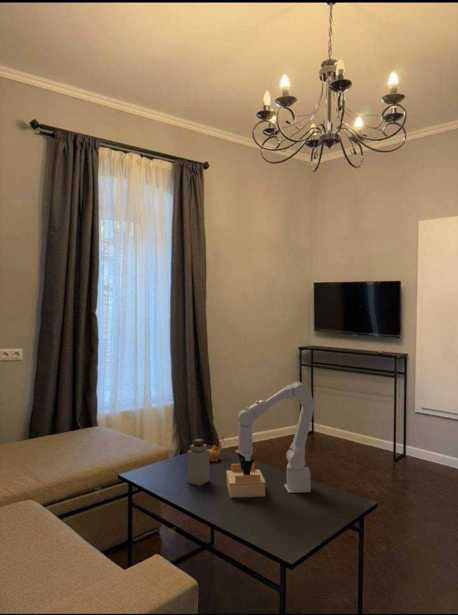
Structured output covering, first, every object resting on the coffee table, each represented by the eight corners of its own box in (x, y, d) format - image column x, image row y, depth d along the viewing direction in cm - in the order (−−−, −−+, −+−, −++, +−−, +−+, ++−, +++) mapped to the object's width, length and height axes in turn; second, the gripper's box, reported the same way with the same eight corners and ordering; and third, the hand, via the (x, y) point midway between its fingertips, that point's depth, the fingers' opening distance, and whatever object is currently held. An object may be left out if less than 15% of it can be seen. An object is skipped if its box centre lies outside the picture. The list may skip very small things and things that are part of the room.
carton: (258, 483, 189) (259, 471, 189) (265, 496, 175) (265, 483, 175) (226, 484, 187) (226, 472, 187) (230, 497, 173) (230, 485, 174)
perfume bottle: (209, 480, 191) (209, 439, 191) (199, 485, 185) (200, 443, 186) (196, 477, 195) (196, 437, 195) (187, 482, 189) (187, 440, 189)
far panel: (259, 470, 189) (259, 463, 189) (262, 476, 182) (262, 468, 182) (226, 471, 188) (226, 464, 188) (227, 477, 181) (227, 469, 181)
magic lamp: (191, 461, 216) (191, 439, 217) (221, 455, 227) (221, 433, 227) (198, 465, 211) (198, 442, 211) (228, 458, 221) (229, 436, 221)
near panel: (262, 476, 182) (262, 468, 182) (265, 483, 175) (265, 475, 175) (228, 477, 180) (228, 470, 180) (229, 484, 173) (229, 476, 173)
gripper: (233, 435, 188) (233, 467, 188) (238, 445, 174) (237, 479, 174) (250, 434, 189) (249, 466, 189) (255, 444, 175) (255, 479, 174)
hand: (245, 472), depth 181 cm, fingers open, 7 cm apart
